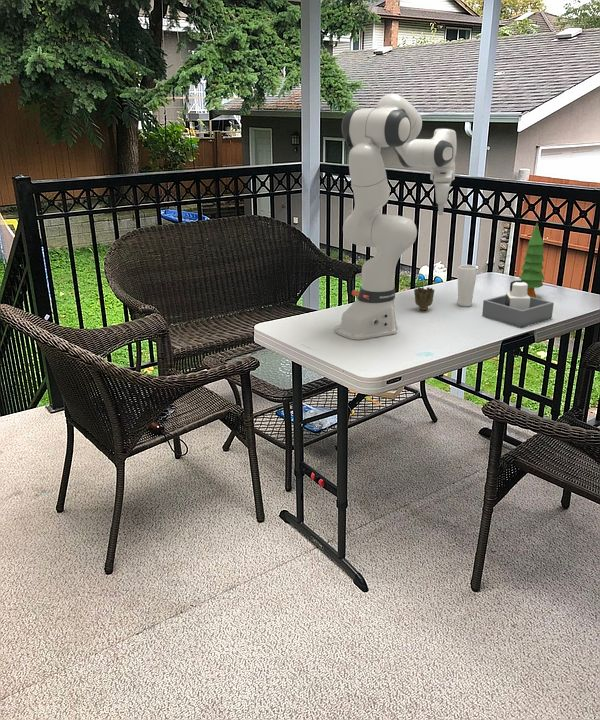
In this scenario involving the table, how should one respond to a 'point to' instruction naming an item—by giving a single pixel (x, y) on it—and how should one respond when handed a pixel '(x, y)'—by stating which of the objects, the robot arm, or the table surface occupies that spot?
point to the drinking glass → (466, 284)
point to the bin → (517, 311)
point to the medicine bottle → (518, 295)
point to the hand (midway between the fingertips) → (440, 212)
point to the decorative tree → (533, 263)
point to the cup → (423, 297)
